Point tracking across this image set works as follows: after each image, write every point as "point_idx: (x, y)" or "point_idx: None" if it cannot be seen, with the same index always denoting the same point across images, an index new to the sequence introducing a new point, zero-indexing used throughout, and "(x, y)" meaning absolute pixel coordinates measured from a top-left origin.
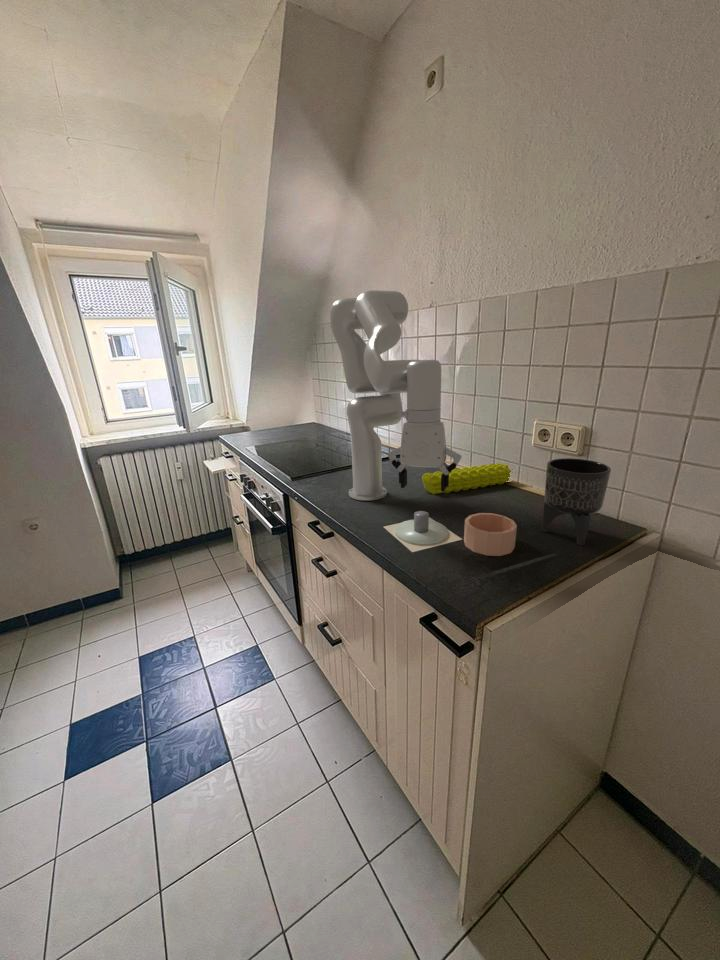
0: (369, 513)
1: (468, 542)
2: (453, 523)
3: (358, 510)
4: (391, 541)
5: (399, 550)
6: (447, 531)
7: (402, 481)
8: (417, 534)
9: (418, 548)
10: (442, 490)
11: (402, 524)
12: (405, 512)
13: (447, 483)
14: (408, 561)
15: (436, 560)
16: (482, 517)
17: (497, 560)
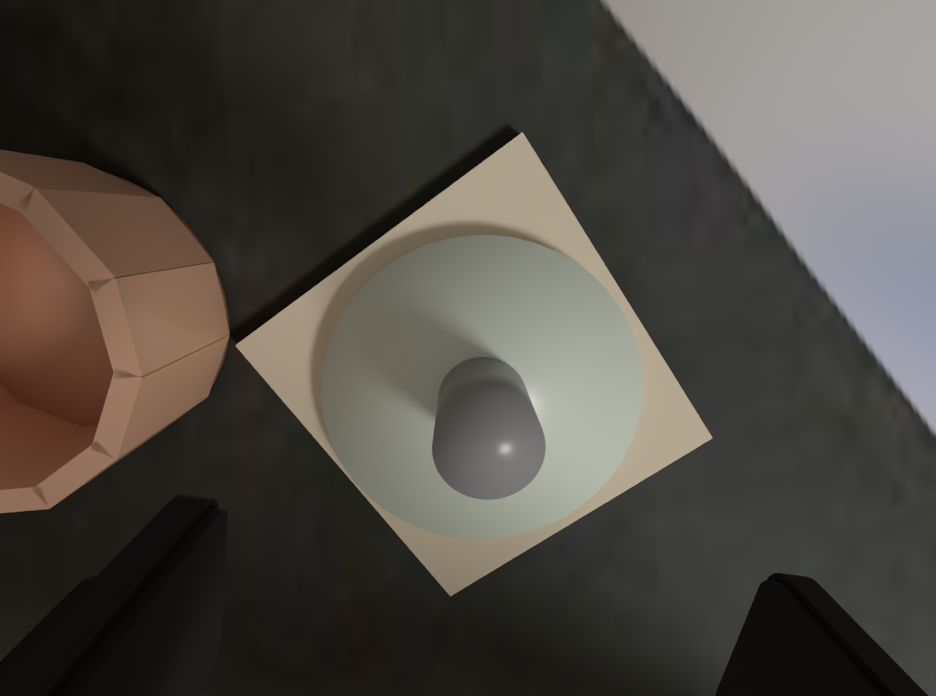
0: None
1: (173, 242)
2: (307, 549)
3: None
4: (650, 283)
5: (598, 176)
6: (322, 401)
7: (864, 658)
8: (502, 335)
9: (487, 185)
10: (195, 497)
11: (600, 456)
12: (583, 644)
13: (47, 615)
14: (538, 43)
15: (373, 83)
16: (44, 475)
17: (27, 140)
